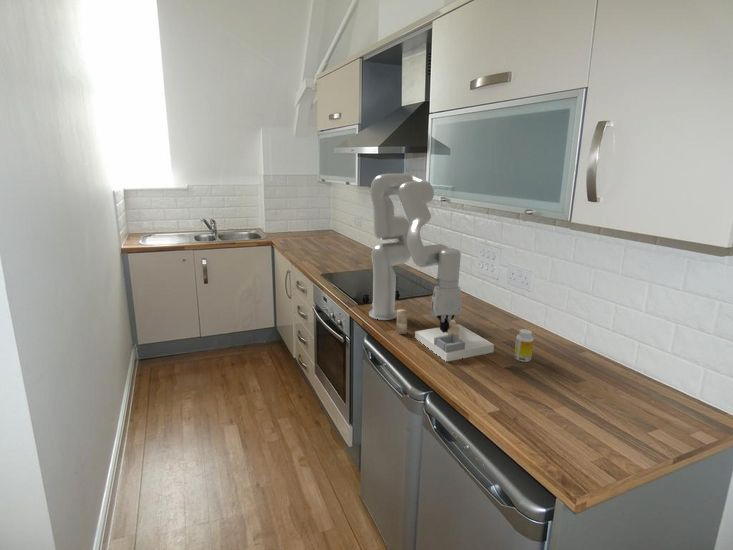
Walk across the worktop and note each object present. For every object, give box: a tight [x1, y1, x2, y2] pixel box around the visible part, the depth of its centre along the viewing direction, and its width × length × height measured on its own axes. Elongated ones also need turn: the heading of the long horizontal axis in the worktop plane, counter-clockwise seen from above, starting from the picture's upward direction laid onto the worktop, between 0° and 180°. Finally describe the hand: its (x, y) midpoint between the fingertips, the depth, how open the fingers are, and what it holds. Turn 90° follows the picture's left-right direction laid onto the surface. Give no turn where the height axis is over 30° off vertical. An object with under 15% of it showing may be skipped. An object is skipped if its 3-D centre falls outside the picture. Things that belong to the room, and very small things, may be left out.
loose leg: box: [395, 308, 409, 335], centre depth 173 cm, size 4×4×9 cm
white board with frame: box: [414, 323, 495, 362], centre depth 163 cm, size 21×20×6 cm
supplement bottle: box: [513, 328, 535, 363], centre depth 153 cm, size 6×6×10 cm
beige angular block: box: [447, 317, 459, 338], centre depth 167 cm, size 12×3×4 cm, turn 1°
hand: (443, 331), depth 164 cm, fingers closed
